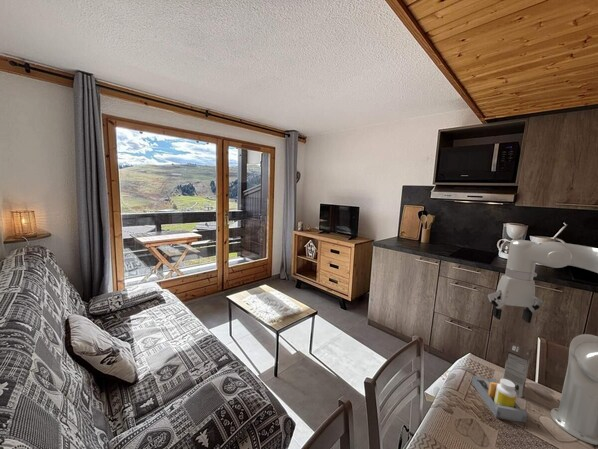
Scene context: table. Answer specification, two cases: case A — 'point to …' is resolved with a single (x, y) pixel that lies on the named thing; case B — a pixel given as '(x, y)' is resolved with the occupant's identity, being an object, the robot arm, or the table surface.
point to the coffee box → (517, 366)
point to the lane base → (498, 410)
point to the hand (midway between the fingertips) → (511, 319)
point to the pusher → (491, 388)
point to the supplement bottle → (505, 393)
